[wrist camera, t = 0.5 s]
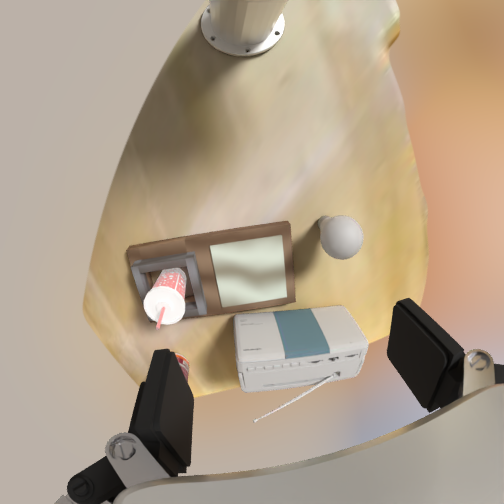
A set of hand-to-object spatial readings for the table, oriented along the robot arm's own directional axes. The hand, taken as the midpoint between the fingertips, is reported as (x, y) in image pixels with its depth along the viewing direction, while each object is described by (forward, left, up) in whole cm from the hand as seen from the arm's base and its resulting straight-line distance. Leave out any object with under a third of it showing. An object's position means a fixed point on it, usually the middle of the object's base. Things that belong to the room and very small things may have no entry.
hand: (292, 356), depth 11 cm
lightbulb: (+6, +13, -34) cm, 37 cm away
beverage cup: (+12, -13, -34) cm, 38 cm away
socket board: (+12, -6, -34) cm, 36 cm away
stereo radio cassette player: (+25, +6, -34) cm, 43 cm away
